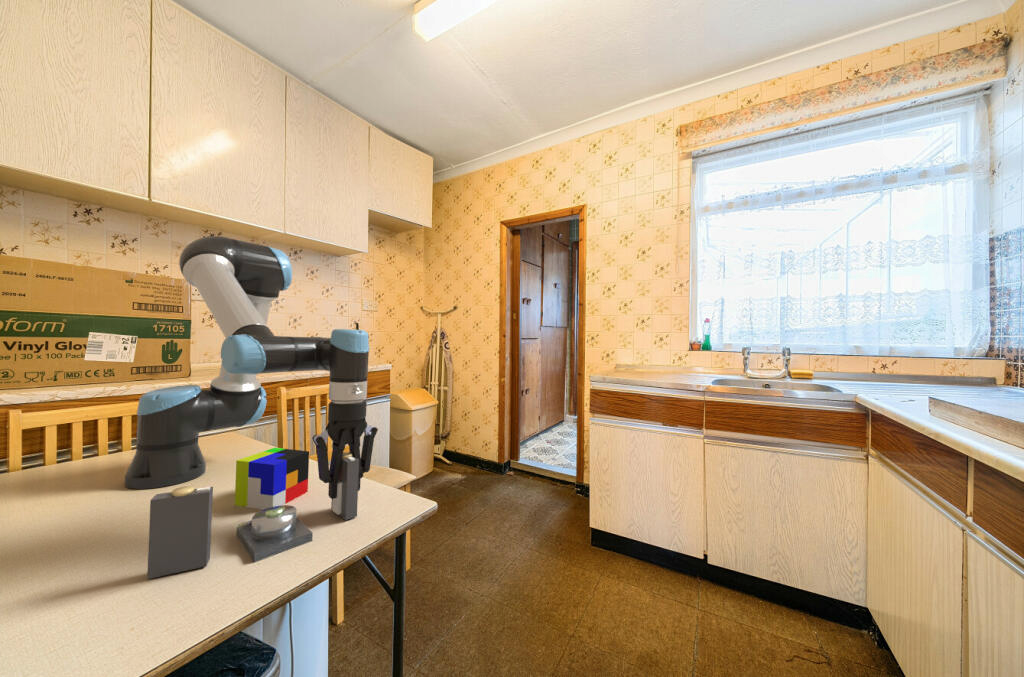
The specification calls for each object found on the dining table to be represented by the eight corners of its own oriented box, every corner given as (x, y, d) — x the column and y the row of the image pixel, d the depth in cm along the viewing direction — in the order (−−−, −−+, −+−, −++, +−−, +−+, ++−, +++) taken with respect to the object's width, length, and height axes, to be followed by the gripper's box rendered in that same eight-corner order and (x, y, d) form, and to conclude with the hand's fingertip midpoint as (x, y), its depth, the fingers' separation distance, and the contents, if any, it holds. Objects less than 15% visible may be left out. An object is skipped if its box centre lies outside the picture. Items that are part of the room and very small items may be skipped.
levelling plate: (236, 535, 67) (237, 507, 67) (289, 518, 74) (290, 492, 74) (254, 562, 60) (255, 530, 60) (312, 540, 66) (313, 512, 66)
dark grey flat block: (146, 579, 54) (150, 496, 54) (153, 569, 56) (157, 490, 57) (206, 566, 58) (209, 488, 58) (210, 557, 60) (213, 482, 60)
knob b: (330, 509, 78) (332, 451, 78) (342, 505, 80) (344, 449, 80) (345, 520, 73) (347, 459, 74) (357, 516, 75) (359, 456, 76)
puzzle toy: (272, 511, 77) (274, 464, 77) (234, 505, 79) (236, 460, 79) (307, 492, 87) (309, 451, 87) (273, 487, 89) (274, 447, 89)
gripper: (316, 407, 69) (312, 529, 68) (389, 399, 80) (386, 503, 80) (302, 401, 74) (297, 516, 73) (373, 395, 85) (369, 493, 85)
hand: (343, 509), depth 77 cm, fingers closed on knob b, 2 cm apart
